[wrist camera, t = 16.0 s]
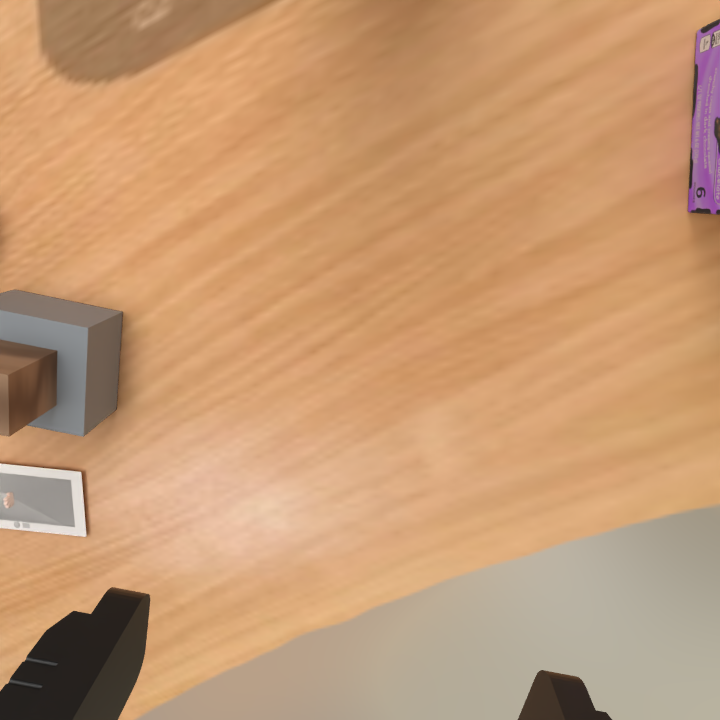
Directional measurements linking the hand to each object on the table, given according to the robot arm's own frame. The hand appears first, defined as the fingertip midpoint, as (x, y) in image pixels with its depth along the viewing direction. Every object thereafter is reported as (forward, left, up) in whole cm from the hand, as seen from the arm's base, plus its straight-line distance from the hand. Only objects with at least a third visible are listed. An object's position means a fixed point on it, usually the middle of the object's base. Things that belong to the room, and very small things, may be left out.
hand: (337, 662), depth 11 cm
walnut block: (+11, -27, -32) cm, 43 cm away
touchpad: (+28, -32, -39) cm, 58 cm away
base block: (+11, -27, -38) cm, 48 cm away
